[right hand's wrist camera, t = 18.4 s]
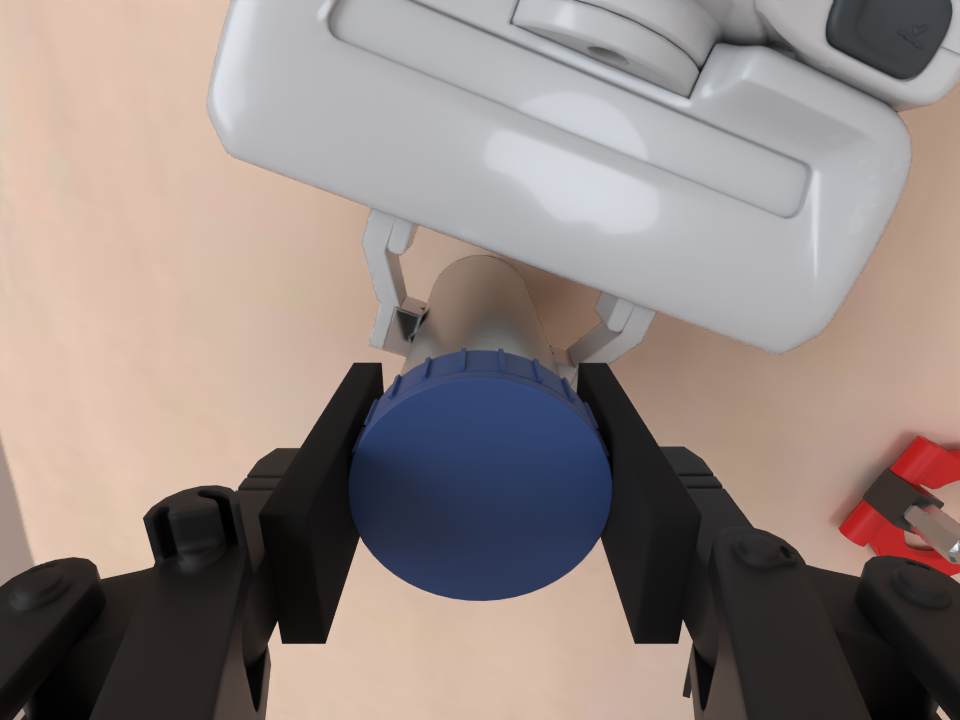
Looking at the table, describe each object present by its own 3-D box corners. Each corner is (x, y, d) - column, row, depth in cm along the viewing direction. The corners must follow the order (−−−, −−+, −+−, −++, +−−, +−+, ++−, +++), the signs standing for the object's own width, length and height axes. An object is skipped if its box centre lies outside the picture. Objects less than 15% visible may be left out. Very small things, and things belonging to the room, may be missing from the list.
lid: (311, 425, 12) (286, 462, 10) (524, 298, 11) (531, 319, 9) (444, 586, 13) (440, 638, 12) (640, 490, 12) (662, 535, 11)
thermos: (546, 279, 25) (632, 429, 11) (505, 366, 26) (533, 593, 12) (452, 238, 24) (415, 342, 10) (415, 330, 26) (339, 528, 12)
